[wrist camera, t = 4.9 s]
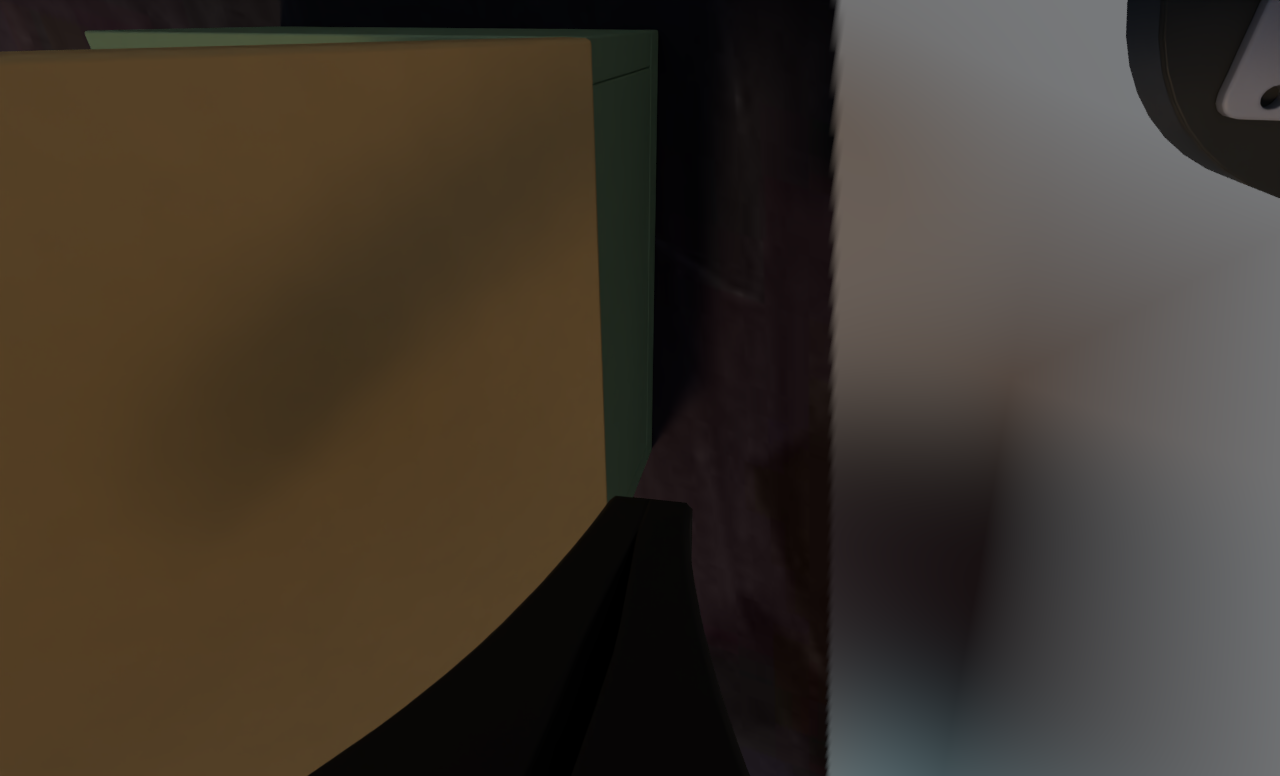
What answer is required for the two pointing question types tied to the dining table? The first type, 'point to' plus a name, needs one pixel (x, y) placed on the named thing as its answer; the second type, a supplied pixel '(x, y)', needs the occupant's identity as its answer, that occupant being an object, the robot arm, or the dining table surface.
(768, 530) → the dining table surface
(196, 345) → the yellow box lid
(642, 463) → the green open cubby
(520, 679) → the robot arm
